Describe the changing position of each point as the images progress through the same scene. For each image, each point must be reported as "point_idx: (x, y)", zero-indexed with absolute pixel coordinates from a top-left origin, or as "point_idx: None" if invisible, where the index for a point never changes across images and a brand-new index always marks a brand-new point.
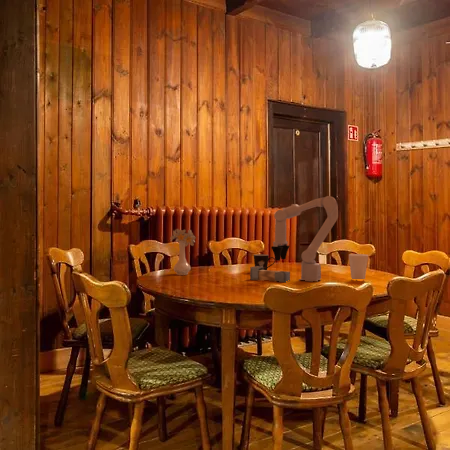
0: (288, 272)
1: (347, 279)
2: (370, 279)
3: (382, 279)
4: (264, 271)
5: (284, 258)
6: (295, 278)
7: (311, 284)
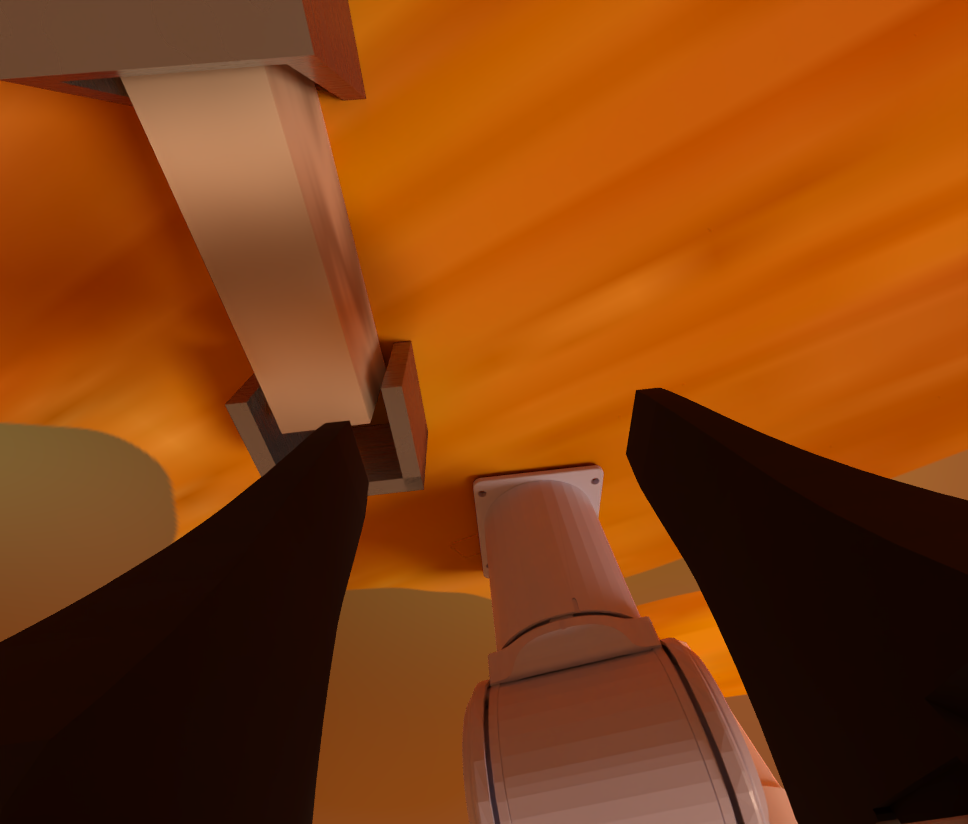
0: (378, 491)
1: (682, 623)
2: (718, 669)
3: (733, 689)
4: (189, 215)
5: (634, 457)
6: (597, 404)
7: (376, 584)
